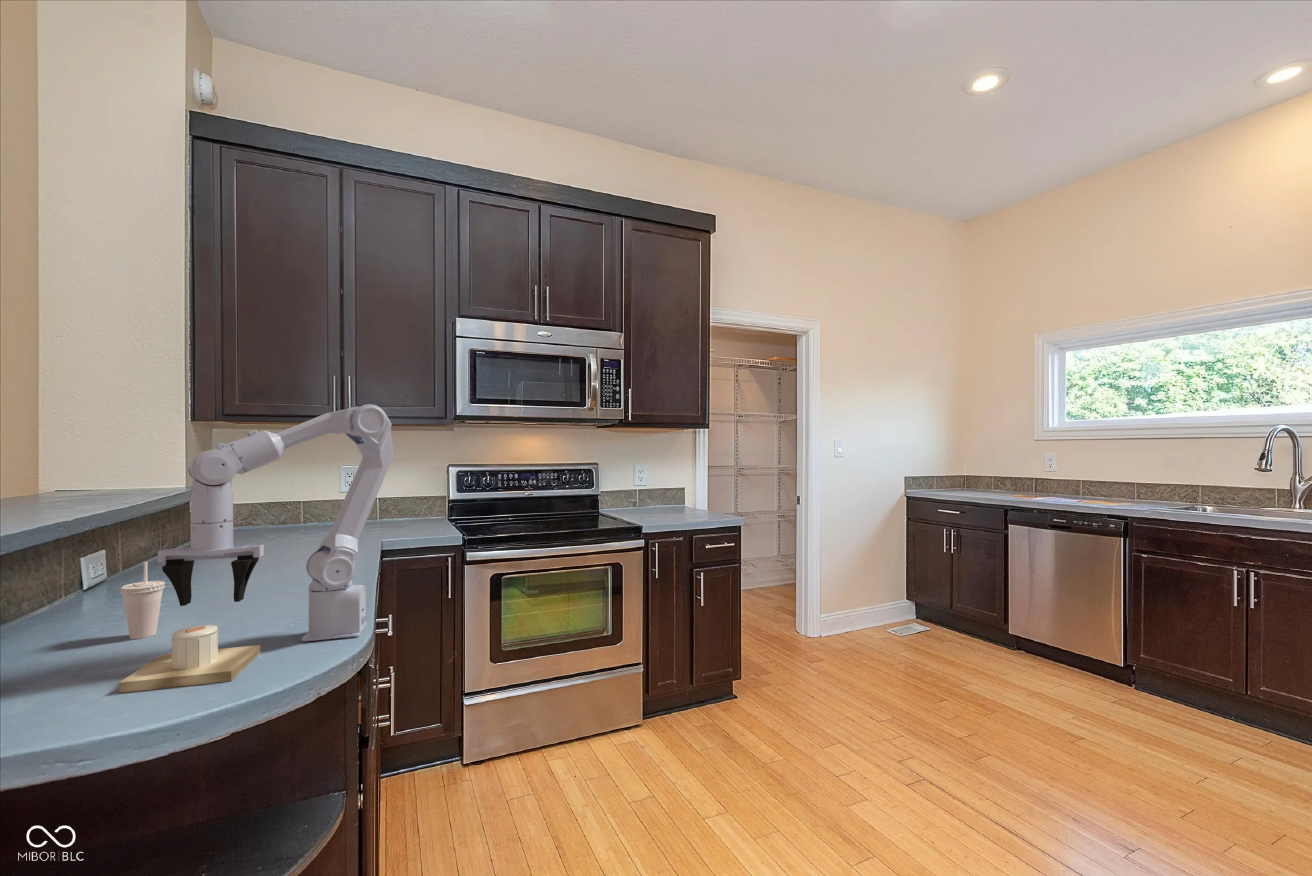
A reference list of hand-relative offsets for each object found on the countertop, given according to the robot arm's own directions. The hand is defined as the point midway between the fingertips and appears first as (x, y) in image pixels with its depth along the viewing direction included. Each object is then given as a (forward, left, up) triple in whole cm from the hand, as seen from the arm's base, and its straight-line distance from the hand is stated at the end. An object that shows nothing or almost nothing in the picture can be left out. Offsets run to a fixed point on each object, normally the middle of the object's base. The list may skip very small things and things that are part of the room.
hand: (212, 602), depth 97 cm
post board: (0, +6, -9) cm, 11 cm away
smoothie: (+18, -18, -10) cm, 27 cm away
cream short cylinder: (0, +6, -8) cm, 10 cm away
